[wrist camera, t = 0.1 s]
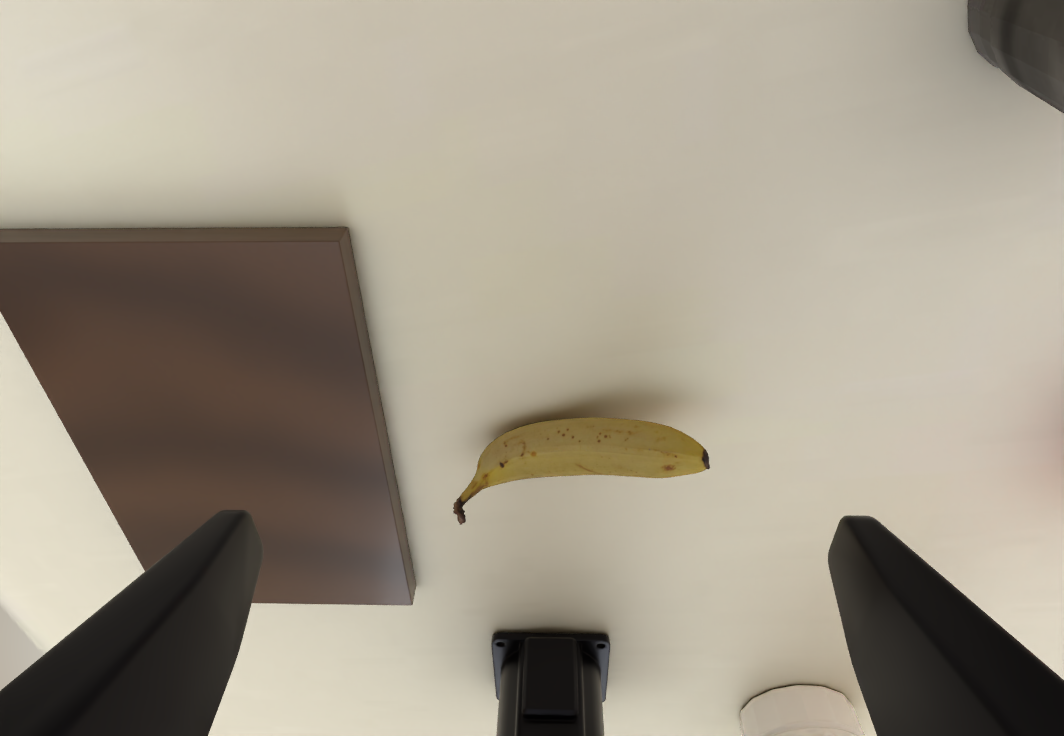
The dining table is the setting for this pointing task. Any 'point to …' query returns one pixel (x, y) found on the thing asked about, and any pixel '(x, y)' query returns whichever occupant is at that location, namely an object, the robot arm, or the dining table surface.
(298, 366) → the walnut board
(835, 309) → the dining table surface
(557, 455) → the banana
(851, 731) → the white cup
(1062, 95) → the beverage cup
